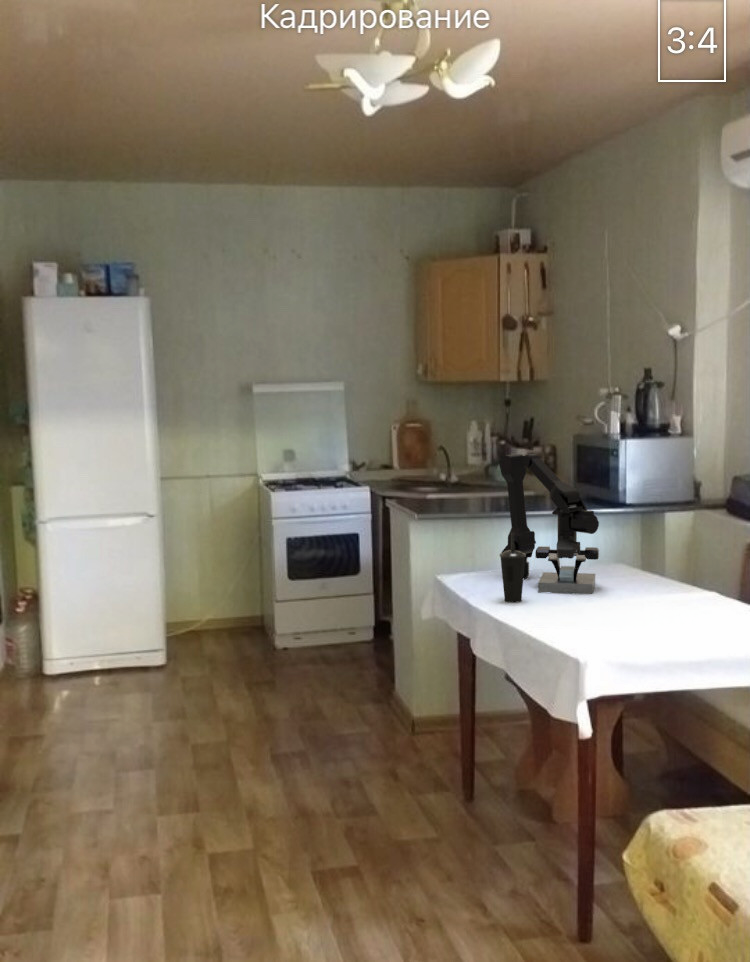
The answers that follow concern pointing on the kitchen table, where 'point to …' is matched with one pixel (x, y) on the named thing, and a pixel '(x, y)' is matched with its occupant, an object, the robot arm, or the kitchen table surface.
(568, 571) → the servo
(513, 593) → the drinking cup
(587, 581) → the grey square base plate
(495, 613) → the kitchen table surface
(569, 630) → the kitchen table surface
